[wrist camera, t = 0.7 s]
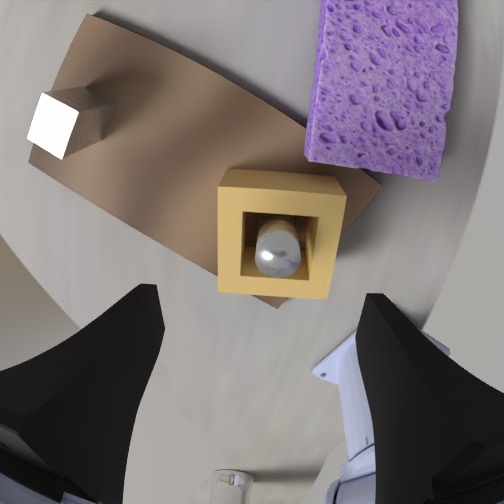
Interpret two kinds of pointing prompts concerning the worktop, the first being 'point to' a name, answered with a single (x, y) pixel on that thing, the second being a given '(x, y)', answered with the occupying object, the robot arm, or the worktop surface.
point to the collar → (278, 202)
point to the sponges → (383, 85)
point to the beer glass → (231, 487)
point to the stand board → (173, 147)
